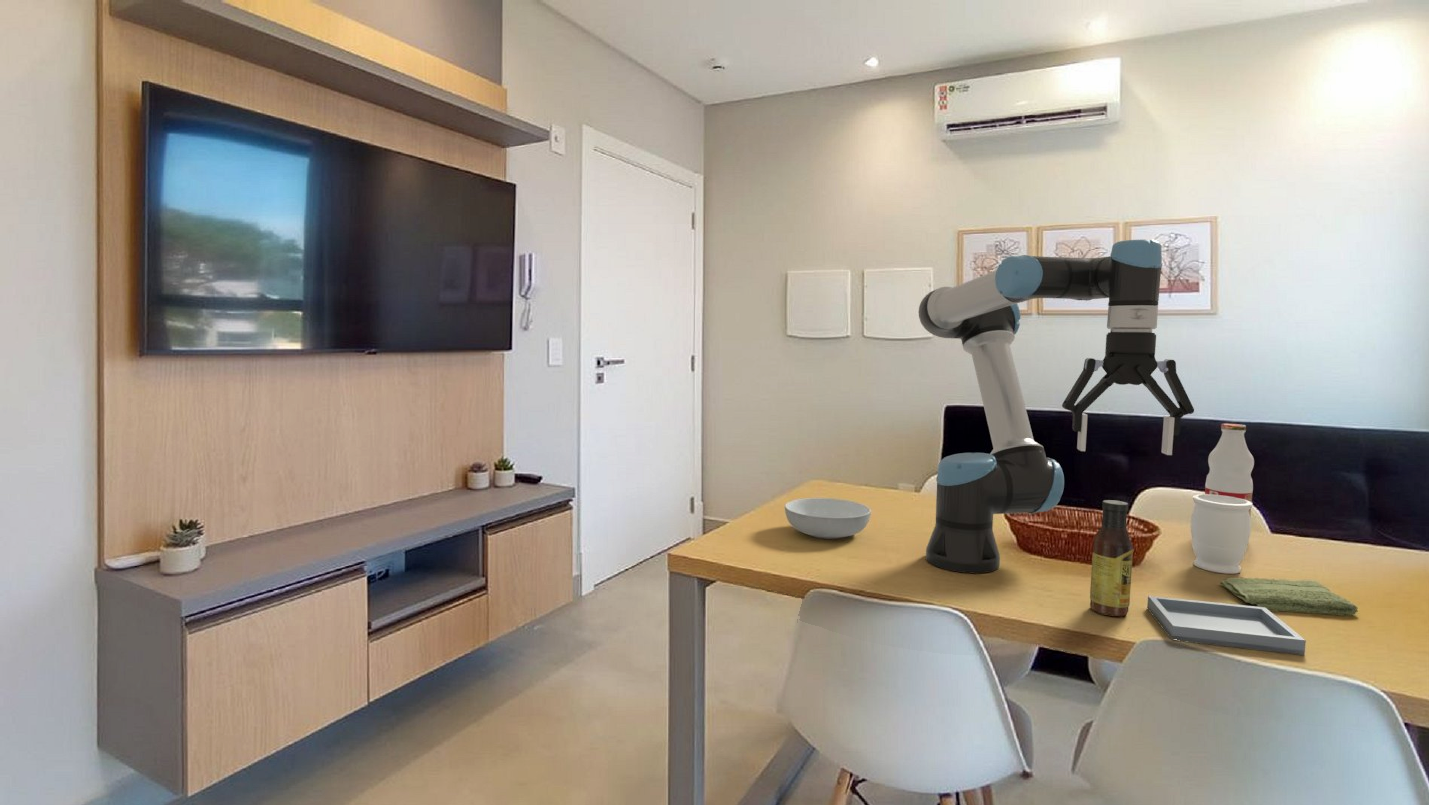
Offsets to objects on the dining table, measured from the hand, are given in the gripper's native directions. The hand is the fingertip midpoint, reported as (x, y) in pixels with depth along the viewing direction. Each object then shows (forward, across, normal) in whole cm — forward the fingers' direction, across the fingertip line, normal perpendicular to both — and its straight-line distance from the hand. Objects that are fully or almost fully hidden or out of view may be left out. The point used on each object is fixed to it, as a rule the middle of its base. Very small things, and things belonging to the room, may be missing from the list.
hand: (1123, 452), depth 126 cm
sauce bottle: (+29, -1, -1) cm, 29 cm away
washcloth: (+29, +33, +13) cm, 46 cm away
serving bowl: (+29, -54, +35) cm, 71 cm away
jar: (+29, +28, +32) cm, 51 cm away
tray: (+29, +15, -5) cm, 33 cm away
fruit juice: (+29, +41, +59) cm, 77 cm away
